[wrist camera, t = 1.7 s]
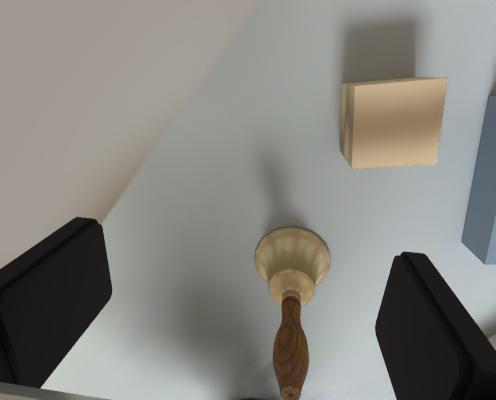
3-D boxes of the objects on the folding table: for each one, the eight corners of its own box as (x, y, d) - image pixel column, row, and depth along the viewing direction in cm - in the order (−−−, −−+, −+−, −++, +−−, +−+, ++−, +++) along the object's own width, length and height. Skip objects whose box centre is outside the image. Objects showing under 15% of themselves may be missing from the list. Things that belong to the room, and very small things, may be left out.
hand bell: (243, 272, 36) (211, 410, 21) (273, 214, 32) (260, 329, 18) (308, 300, 36) (320, 455, 21) (344, 246, 33) (388, 384, 18)
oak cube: (407, 147, 28) (435, 164, 23) (340, 151, 29) (351, 168, 24) (414, 77, 26) (447, 77, 21) (341, 83, 27) (354, 85, 22)
